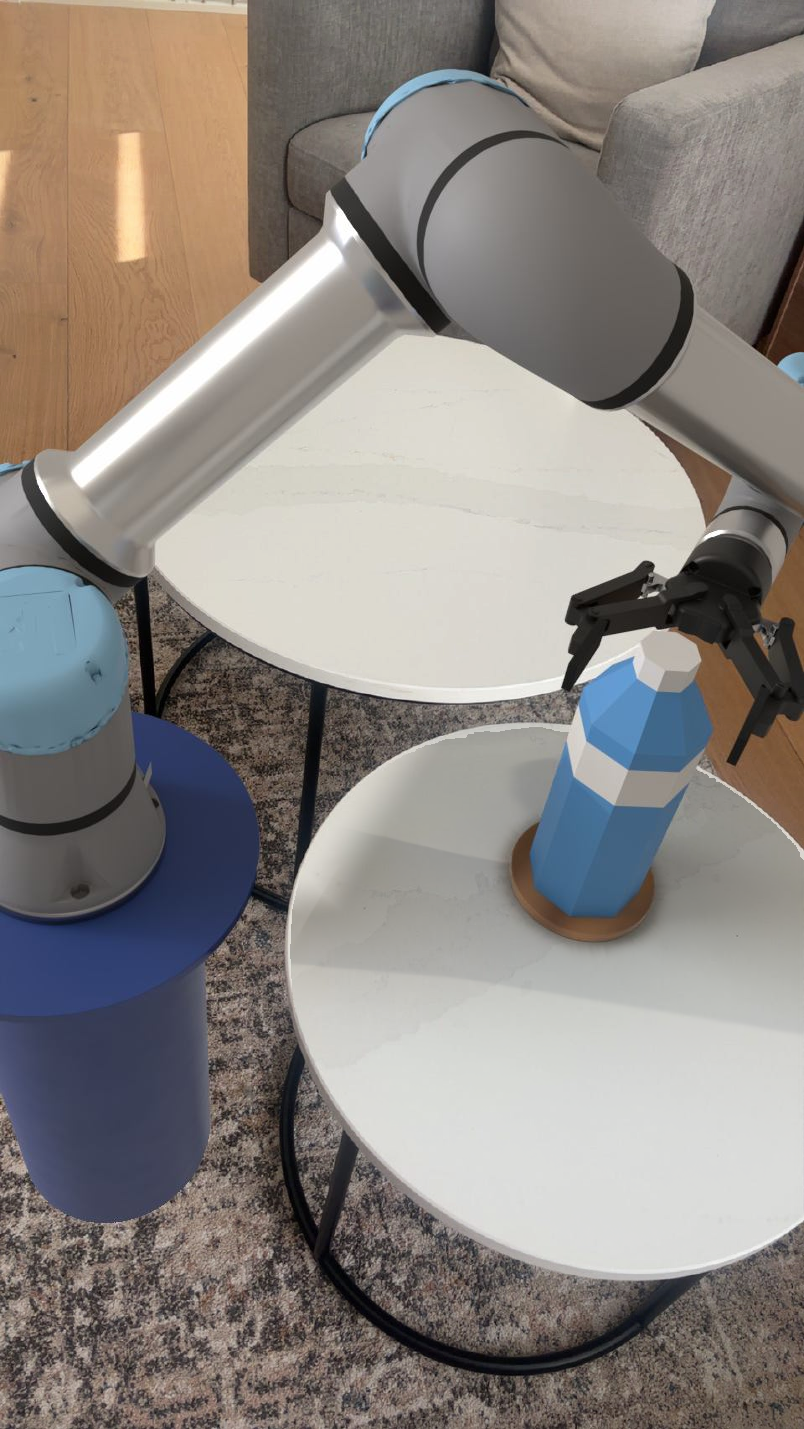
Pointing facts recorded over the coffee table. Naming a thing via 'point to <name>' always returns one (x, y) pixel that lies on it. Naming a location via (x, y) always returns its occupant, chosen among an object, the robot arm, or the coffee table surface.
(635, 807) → the water bottle
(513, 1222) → the coffee table surface
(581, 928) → the coaster
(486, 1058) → the coffee table surface
